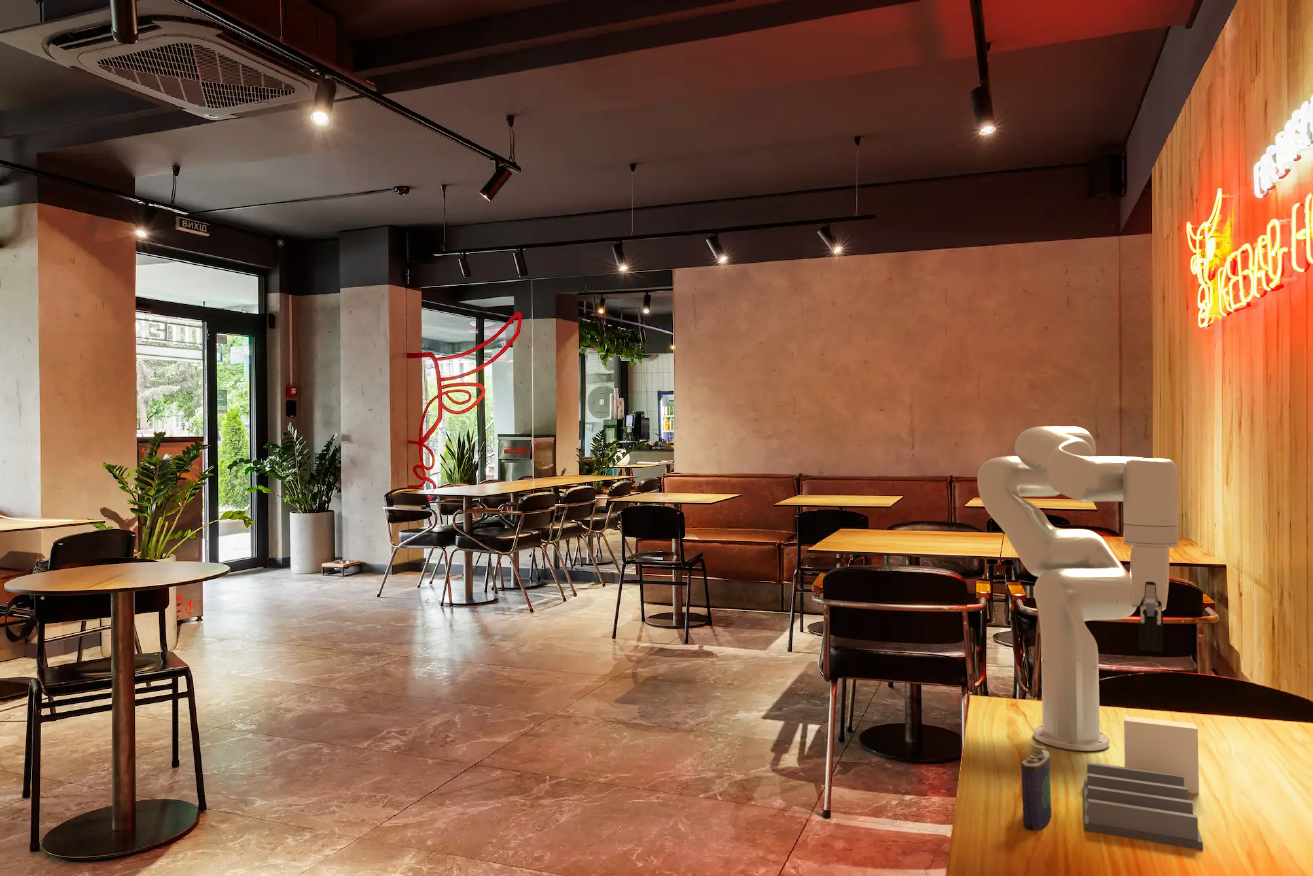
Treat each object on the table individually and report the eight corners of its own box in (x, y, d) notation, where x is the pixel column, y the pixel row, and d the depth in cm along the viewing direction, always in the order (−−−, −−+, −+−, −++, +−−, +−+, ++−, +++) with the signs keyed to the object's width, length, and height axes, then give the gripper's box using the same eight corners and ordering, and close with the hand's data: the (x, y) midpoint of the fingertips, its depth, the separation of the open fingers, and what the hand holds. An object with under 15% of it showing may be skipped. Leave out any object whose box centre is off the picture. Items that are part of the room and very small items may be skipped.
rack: (1083, 786, 136) (1083, 761, 136) (1187, 801, 130) (1186, 775, 130) (1084, 830, 120) (1084, 801, 120) (1202, 850, 114) (1202, 819, 114)
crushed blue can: (1035, 807, 128) (1034, 735, 128) (1056, 812, 126) (1055, 738, 126) (1019, 829, 120) (1018, 752, 121) (1042, 834, 119) (1041, 756, 119)
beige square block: (1124, 777, 140) (1123, 715, 140) (1196, 787, 136) (1195, 723, 136) (1125, 783, 137) (1124, 720, 138) (1199, 794, 133) (1197, 729, 133)
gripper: (1125, 530, 146) (1126, 631, 145) (1121, 539, 131) (1122, 652, 130) (1177, 532, 142) (1178, 636, 142) (1179, 542, 127) (1180, 658, 127)
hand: (1151, 644), depth 136 cm, fingers open, 9 cm apart
